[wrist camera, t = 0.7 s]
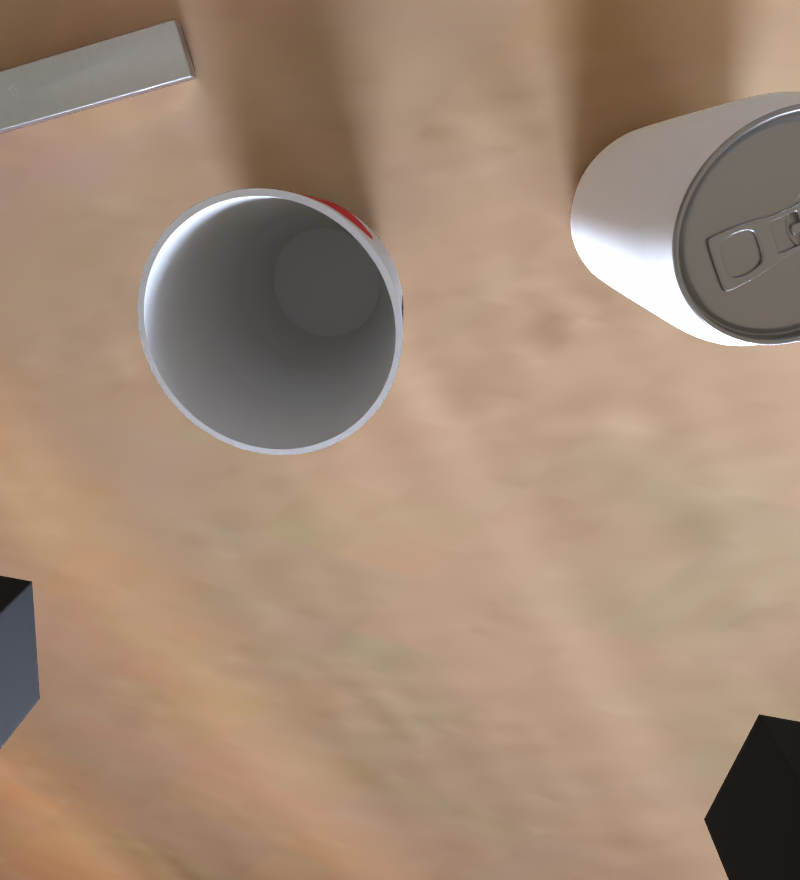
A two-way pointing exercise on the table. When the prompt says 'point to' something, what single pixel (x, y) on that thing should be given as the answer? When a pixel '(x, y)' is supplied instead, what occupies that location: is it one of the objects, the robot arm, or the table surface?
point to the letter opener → (94, 75)
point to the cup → (272, 319)
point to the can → (702, 220)
